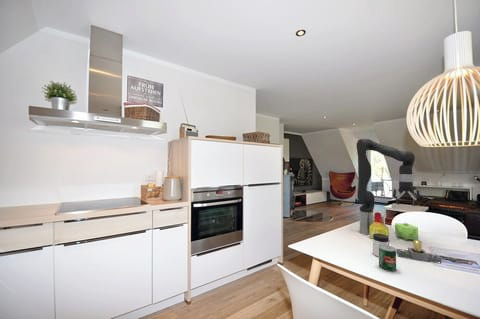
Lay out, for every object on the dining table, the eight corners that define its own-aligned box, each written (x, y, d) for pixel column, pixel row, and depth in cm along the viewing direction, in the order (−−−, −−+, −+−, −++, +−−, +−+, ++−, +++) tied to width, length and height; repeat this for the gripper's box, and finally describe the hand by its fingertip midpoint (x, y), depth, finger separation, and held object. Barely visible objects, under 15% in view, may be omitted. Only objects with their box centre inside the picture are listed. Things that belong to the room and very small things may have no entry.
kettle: (417, 243, 149) (417, 227, 149) (392, 238, 159) (392, 223, 159) (419, 238, 160) (419, 223, 160) (396, 233, 170) (396, 219, 170)
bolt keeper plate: (398, 257, 129) (398, 250, 129) (396, 252, 136) (396, 245, 136) (441, 264, 120) (441, 256, 120) (436, 258, 127) (436, 251, 127)
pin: (414, 258, 128) (414, 241, 128) (412, 255, 131) (412, 239, 131) (422, 259, 126) (422, 242, 126) (420, 257, 129) (420, 240, 129)
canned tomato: (390, 273, 112) (390, 252, 112) (375, 266, 119) (375, 246, 119) (399, 269, 115) (399, 249, 115) (384, 263, 122) (384, 244, 122)
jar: (374, 257, 130) (374, 237, 130) (370, 251, 138) (370, 232, 138) (391, 259, 127) (391, 238, 127) (387, 253, 135) (386, 234, 135)
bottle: (368, 238, 160) (368, 211, 160) (370, 236, 164) (370, 210, 164) (387, 243, 151) (387, 214, 151) (389, 240, 155) (389, 213, 155)
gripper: (394, 181, 144) (394, 205, 144) (420, 181, 138) (421, 207, 138) (391, 180, 151) (392, 203, 151) (417, 180, 145) (417, 204, 145)
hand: (406, 204), depth 144 cm, fingers open, 8 cm apart
